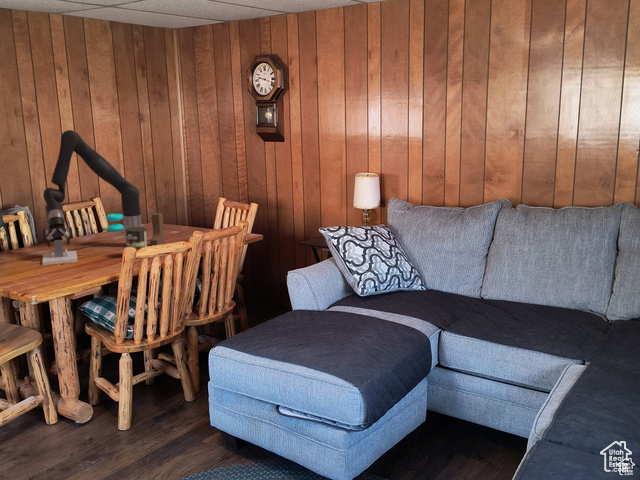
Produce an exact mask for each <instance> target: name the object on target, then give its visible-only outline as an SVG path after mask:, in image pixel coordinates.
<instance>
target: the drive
mask: <svg viewBox="0 0 640 480" xmlns="http://www.w3.org/2000/svg"><path fill="white" fill-rule="evenodd" d="M63 252H64V245H63V239H55V240H54V253H56V258H57V257H64V254H63Z"/></svg>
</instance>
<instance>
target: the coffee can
mask: <svg viewBox="0 0 640 480" xmlns="http://www.w3.org/2000/svg"><path fill="white" fill-rule="evenodd" d="M126 238H127V246H126V247H135V248H136V249H137V250H138V249H140V248H142V247H147V248H148V240H147V228H146V227H134V228H128V229H126Z"/></svg>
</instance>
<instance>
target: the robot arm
mask: <svg viewBox="0 0 640 480" xmlns="http://www.w3.org/2000/svg"><path fill="white" fill-rule="evenodd" d="M73 153H75V154H77V155H78V156H79V157H80V158H81V159H82V161H83V162H84V163H85V164H86V165H87V166H88V168H89V169H90V170H91V171H92V172H93V173H94V174H95V175H96V176H98V177H99V178H100V179H101V180H103V181H104V182H106V184H107V183H108V184H110V185H111V186H112V187H113V188H114V189H115V190H117V192H118V193H119V194H120V196H121V198H120V199H121V207H122V209H121V210H122V213H123V214H122V215H123V226H124V235H125V236H124V237H125V246H126V247H127V238H126V229H128V228H134V227H142V225H143V224H142V215H141V214H142V213H141V207H140V194H141V193H140V191H139V189H138V188H137V187H136V186H135V185H134V184H132V183H130V182H129V181H128V180H127V179H126V178H124V177H123V176H122V174H121V173H120V172H119V171H118V170H117V169H116V168H115V167H114V166H113V165H112V164H111V163H110V161H108V160H107V159H105V158H104V156H102V155H101V154H100V153H98V152H97V151H95V150H94V149H93V148H92V147H91V146H90V145H89V144H87V143H86V141H85V140H84V139H83V138H82V136H81V135H80V134H79V133H78V132H77V131H75V130H71V129H70V130H69V129H68V130H65V131H64V132H63V133H62V134H61V137H60V147H59V153H58V157H57V159H56V160H57V161H56V164H55V167H54V170H53V173H52V176H51V181H50V183H51V184H53V185H55V186H57V187H58V189H57V188H53V187H47V188H45V189H44V191H43V199H44V203H45V204H46V205H47V208H48V209H47V210H48V215H47V216H48V217H47V218H48V227H49V228H48V229H45V228H43V229H42V240H43V242H46V245H47V247H48V248H51V240H53V239H54V238H64V239H65V240H66V246H67V247H69V245H70V244H71V240H73V239H74V234H73V228H72V227H71V226H69V227H68V228H67V227H66V223H65V215H64V207H63V204H62V203H63V202H64V201H65V199H66V183H67V179H68V175H69V171H70V165H71V160H72V158H73V157H72V156H73ZM67 232H68V233H69V234H67ZM46 235H48V236H46Z"/></svg>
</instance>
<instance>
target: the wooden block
mask: <svg viewBox="0 0 640 480" xmlns="http://www.w3.org/2000/svg"><path fill="white" fill-rule="evenodd" d="M163 217H164V215H163V213H159V212H155V213H152V214H151V222H152V223H151V224H152V237H151V238H150V240H149V247H150V246H152V245H157V244H163V243H164V244H165V234H164V230H165V229H164V219H163Z"/></svg>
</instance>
